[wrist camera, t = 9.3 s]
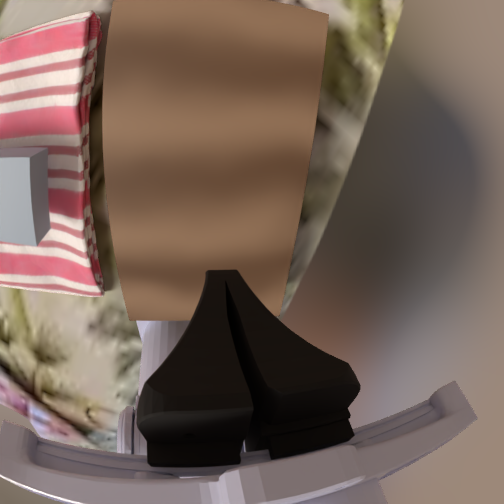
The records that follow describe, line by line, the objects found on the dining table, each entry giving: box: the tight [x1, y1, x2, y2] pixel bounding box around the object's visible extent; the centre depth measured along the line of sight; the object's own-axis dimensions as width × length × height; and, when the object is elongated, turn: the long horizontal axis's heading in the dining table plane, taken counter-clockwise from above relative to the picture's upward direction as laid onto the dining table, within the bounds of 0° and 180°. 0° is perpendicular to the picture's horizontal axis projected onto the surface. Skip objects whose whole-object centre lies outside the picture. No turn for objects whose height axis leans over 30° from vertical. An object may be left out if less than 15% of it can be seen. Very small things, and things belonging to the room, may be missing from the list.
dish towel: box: [0, 10, 105, 297], centre depth 14 cm, size 17×23×4 cm
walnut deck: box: [102, 0, 329, 321], centre depth 17 cm, size 22×12×4 cm, turn 174°
